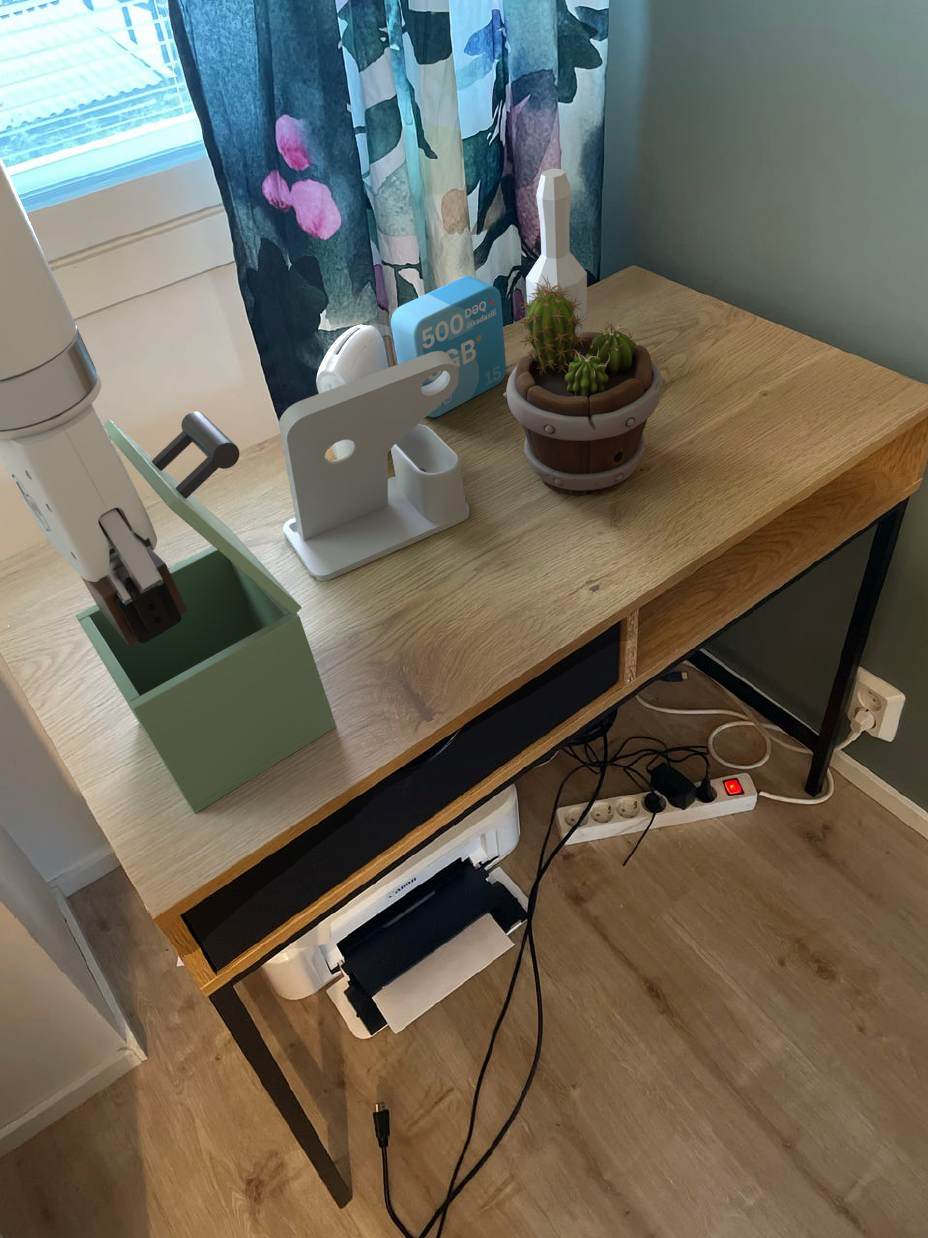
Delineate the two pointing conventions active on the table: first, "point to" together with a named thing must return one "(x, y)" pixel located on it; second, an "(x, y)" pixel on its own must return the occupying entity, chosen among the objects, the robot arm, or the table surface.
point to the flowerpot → (581, 398)
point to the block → (107, 595)
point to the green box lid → (180, 494)
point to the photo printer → (351, 365)
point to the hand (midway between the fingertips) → (142, 609)
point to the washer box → (218, 680)
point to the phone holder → (371, 467)
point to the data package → (455, 335)
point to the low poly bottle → (557, 245)
